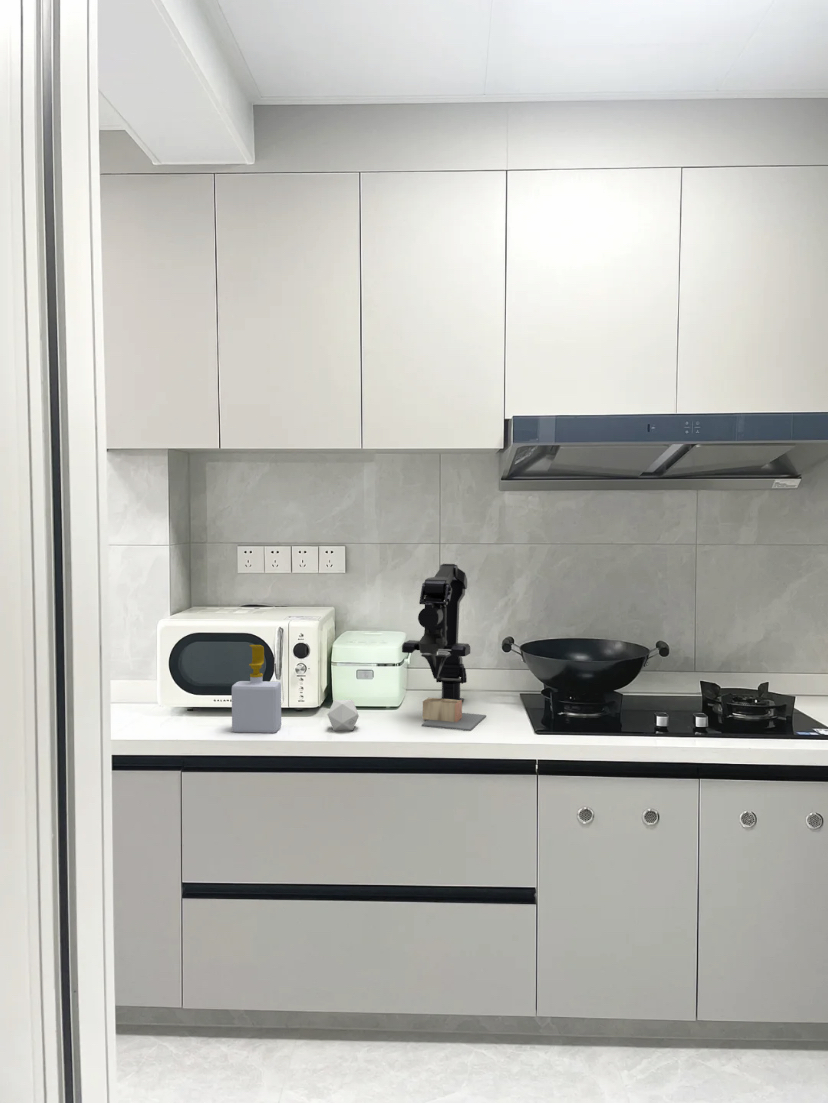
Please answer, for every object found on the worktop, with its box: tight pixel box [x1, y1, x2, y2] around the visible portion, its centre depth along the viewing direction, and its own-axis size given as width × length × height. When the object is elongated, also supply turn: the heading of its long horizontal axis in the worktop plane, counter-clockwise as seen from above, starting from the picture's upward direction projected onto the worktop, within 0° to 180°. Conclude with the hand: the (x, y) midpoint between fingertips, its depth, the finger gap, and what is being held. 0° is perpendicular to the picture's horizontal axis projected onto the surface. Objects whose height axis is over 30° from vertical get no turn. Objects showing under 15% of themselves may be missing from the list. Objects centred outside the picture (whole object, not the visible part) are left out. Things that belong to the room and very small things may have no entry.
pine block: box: [422, 697, 463, 722], centre depth 234 cm, size 5×5×10 cm
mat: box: [421, 712, 487, 732], centre depth 232 cm, size 16×14×1 cm
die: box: [327, 699, 360, 732], centre depth 224 cm, size 8×9×10 cm
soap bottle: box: [231, 644, 282, 734], centre depth 223 cm, size 12×7×23 cm, turn 87°
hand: (435, 678), depth 234 cm, fingers closed
